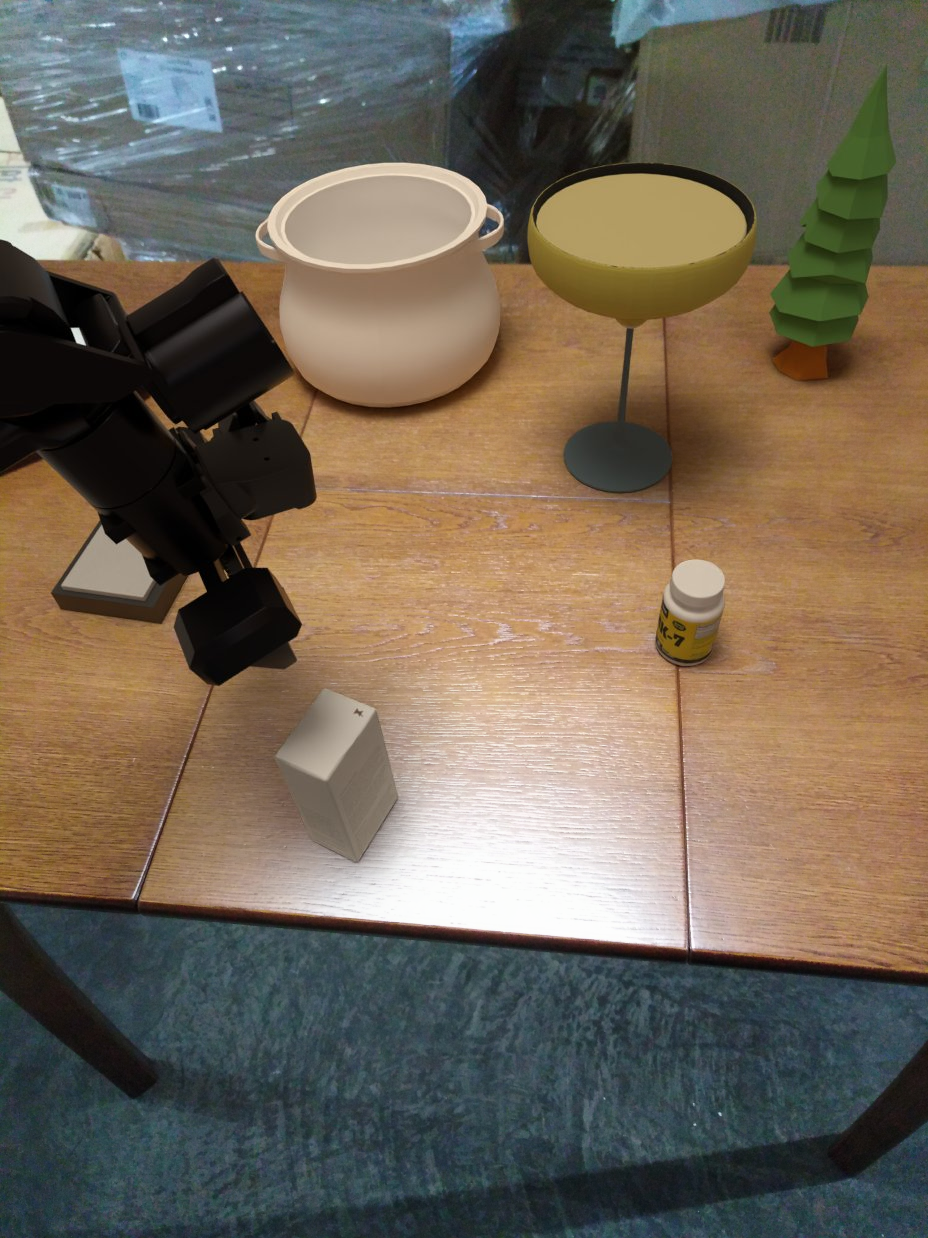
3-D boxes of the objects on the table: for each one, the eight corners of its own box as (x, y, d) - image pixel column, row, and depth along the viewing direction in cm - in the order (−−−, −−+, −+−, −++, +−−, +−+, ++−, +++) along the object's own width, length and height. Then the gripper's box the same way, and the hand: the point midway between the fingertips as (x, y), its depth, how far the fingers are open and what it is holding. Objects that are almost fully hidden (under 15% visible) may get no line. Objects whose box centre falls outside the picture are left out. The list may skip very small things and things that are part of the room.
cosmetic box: (351, 775, 68) (324, 683, 59) (399, 797, 67) (379, 707, 58) (307, 842, 65) (270, 755, 56) (357, 866, 63) (328, 782, 54)
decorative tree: (776, 393, 95) (856, 84, 72) (741, 344, 101) (805, 44, 78) (862, 378, 96) (968, 67, 73) (823, 331, 102) (909, 29, 79)
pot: (504, 293, 111) (501, 152, 98) (508, 417, 95) (505, 268, 82) (300, 302, 112) (270, 163, 99) (270, 425, 96) (231, 280, 83)
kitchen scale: (60, 608, 81) (47, 588, 79) (115, 524, 88) (105, 503, 85) (161, 623, 79) (151, 602, 77) (209, 536, 86) (201, 515, 84)
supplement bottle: (643, 635, 75) (654, 567, 69) (691, 615, 76) (706, 546, 70) (675, 676, 72) (690, 609, 66) (724, 655, 73) (743, 587, 67)
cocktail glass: (696, 399, 95) (739, 155, 76) (722, 517, 84) (780, 266, 64) (526, 403, 96) (526, 164, 77) (528, 521, 85) (529, 274, 66)
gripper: (317, 488, 43) (426, 647, 55) (208, 306, 54) (320, 473, 66) (118, 614, 42) (273, 745, 55) (49, 404, 53) (192, 553, 66)
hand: (267, 616), depth 60 cm, fingers open, 9 cm apart
